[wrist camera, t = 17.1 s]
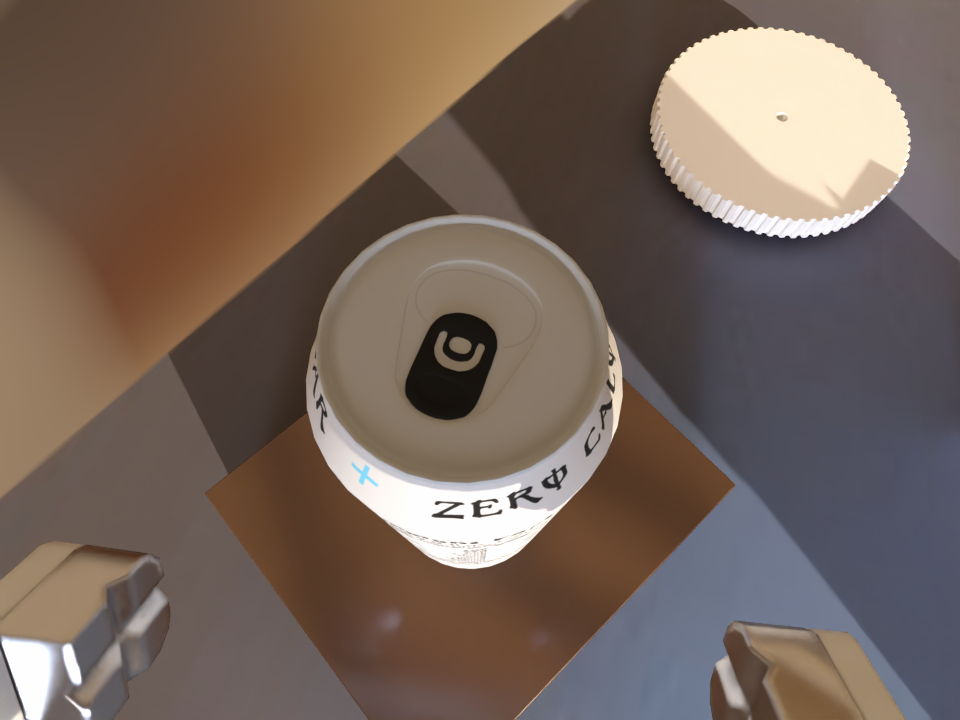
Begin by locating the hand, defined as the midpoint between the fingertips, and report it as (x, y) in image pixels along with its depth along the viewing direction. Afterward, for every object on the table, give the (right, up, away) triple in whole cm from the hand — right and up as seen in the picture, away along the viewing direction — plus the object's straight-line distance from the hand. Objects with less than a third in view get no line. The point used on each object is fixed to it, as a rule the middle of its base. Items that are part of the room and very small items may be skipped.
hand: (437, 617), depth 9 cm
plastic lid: (+18, +16, +27) cm, 36 cm away
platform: (0, -3, +19) cm, 20 cm away
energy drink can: (0, -2, +15) cm, 15 cm away
